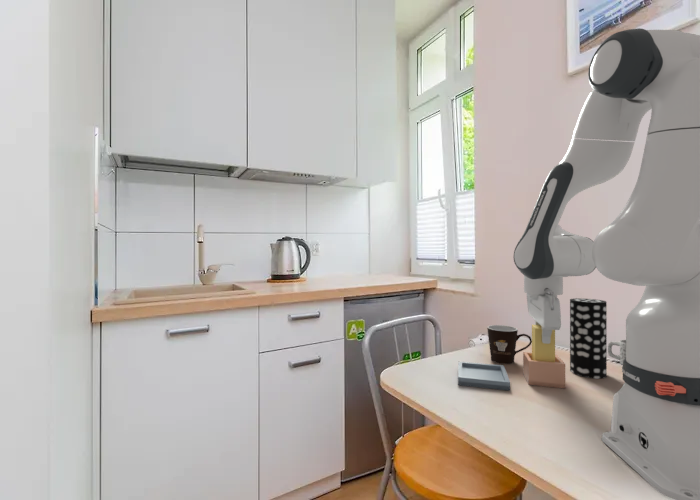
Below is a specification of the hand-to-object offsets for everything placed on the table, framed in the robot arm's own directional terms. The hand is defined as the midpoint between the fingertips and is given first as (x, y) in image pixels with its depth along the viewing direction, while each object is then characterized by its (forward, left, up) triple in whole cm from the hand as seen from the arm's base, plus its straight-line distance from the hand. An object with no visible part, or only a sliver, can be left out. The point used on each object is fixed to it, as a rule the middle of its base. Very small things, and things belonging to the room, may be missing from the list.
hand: (543, 339), depth 91 cm
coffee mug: (+14, +7, -11) cm, 19 cm away
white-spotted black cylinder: (+10, -13, -11) cm, 20 cm away
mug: (+23, -27, -11) cm, 37 cm away
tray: (-3, +15, -11) cm, 19 cm away
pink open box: (0, 0, -11) cm, 11 cm away
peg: (0, 0, -10) cm, 10 cm away
